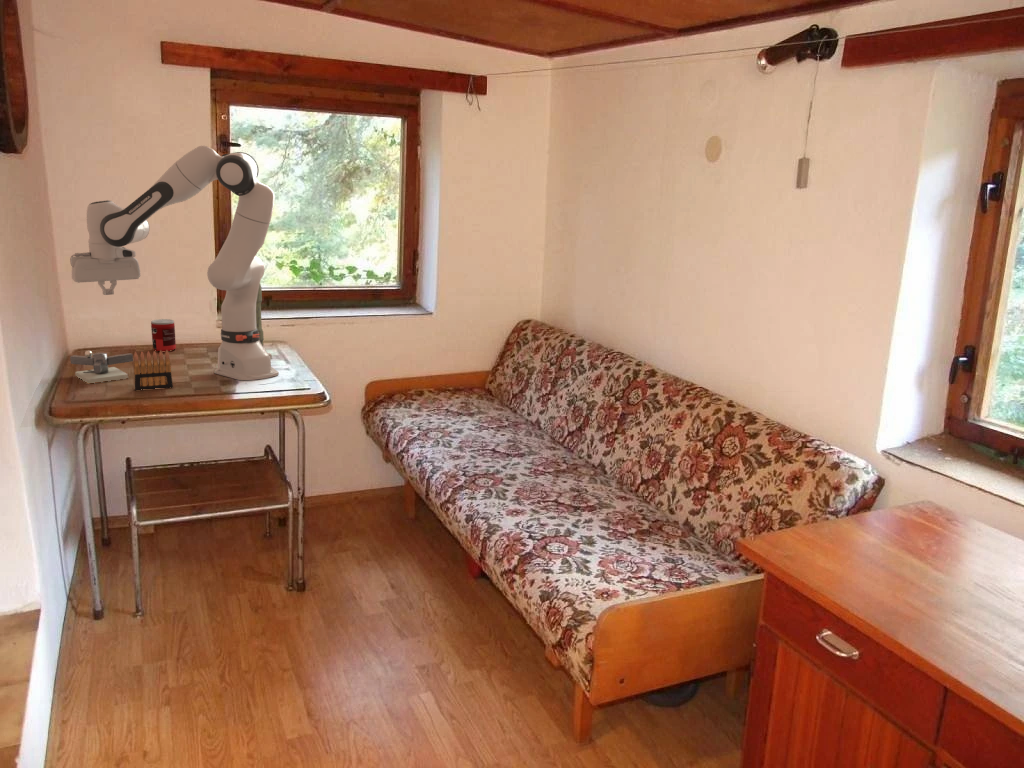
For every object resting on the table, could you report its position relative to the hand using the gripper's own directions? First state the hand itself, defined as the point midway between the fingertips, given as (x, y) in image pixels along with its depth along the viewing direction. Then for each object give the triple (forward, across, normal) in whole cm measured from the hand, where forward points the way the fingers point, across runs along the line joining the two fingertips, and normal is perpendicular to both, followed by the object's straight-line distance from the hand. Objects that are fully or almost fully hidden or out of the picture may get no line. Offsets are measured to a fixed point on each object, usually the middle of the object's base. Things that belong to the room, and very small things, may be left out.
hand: (108, 294), depth 265 cm
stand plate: (+25, -7, -9) cm, 28 cm away
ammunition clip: (+25, +1, -31) cm, 40 cm away
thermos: (+25, +53, +8) cm, 59 cm away
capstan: (+23, -8, -7) cm, 26 cm away
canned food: (+25, +24, +19) cm, 40 cm away
